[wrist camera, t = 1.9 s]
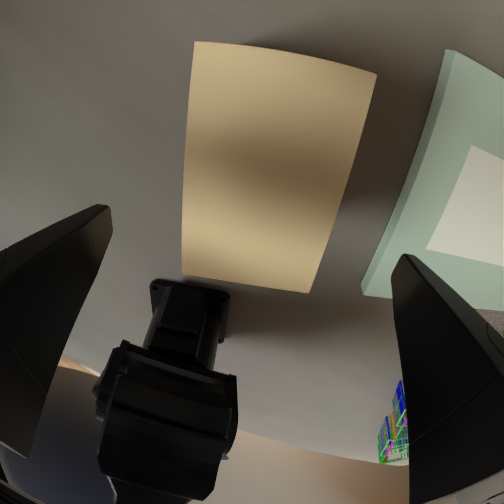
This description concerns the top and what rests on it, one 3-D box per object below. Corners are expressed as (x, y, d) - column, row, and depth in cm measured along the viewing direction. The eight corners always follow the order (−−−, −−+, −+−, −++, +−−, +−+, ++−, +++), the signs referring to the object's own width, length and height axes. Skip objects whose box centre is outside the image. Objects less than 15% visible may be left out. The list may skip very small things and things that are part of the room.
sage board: (506, 303, 24) (511, 311, 23) (360, 283, 24) (363, 295, 23) (588, 150, 13) (596, 156, 12) (445, 49, 12) (455, 50, 12)
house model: (408, 345, 29) (418, 384, 25) (581, 296, 24) (596, 321, 20) (373, 443, 50) (375, 465, 46) (499, 410, 44) (504, 428, 40)
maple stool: (301, 215, 20) (308, 293, 15) (208, 200, 20) (181, 273, 15) (338, 61, 14) (377, 74, 9) (226, 41, 14) (194, 41, 8)
